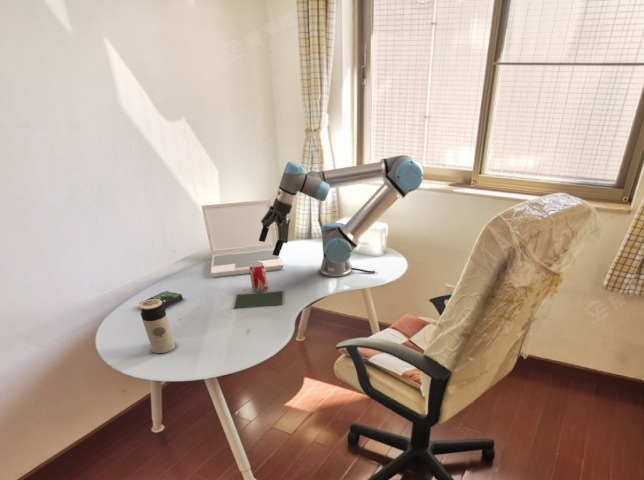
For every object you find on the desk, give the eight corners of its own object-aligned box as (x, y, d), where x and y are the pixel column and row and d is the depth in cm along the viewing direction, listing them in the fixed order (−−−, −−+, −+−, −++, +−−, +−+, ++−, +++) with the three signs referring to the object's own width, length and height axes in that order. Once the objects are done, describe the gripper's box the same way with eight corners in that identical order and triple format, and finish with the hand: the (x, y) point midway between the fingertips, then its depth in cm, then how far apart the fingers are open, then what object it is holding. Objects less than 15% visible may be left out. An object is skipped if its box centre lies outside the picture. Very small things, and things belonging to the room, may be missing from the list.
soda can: (265, 293, 206) (261, 267, 200) (250, 292, 208) (245, 267, 201) (270, 287, 212) (266, 262, 205) (256, 286, 213) (252, 261, 207)
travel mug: (154, 344, 170) (139, 300, 160) (176, 341, 172) (163, 297, 162) (151, 355, 164) (136, 309, 154) (174, 352, 165) (161, 306, 155)
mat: (282, 291, 207) (282, 291, 207) (281, 304, 196) (281, 304, 196) (237, 295, 206) (237, 294, 206) (234, 308, 194) (234, 308, 194)
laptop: (212, 278, 224) (199, 218, 208) (213, 260, 245) (201, 205, 229) (283, 269, 230) (276, 211, 214) (278, 253, 251) (271, 199, 235)
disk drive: (157, 313, 193) (183, 299, 203) (155, 307, 191) (182, 293, 202) (140, 309, 197) (167, 295, 208) (138, 303, 196) (165, 289, 206)
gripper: (263, 187, 196) (248, 234, 206) (290, 211, 182) (274, 260, 192) (277, 192, 202) (263, 237, 211) (305, 215, 187) (288, 262, 197)
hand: (268, 248), depth 202 cm, fingers open, 13 cm apart
